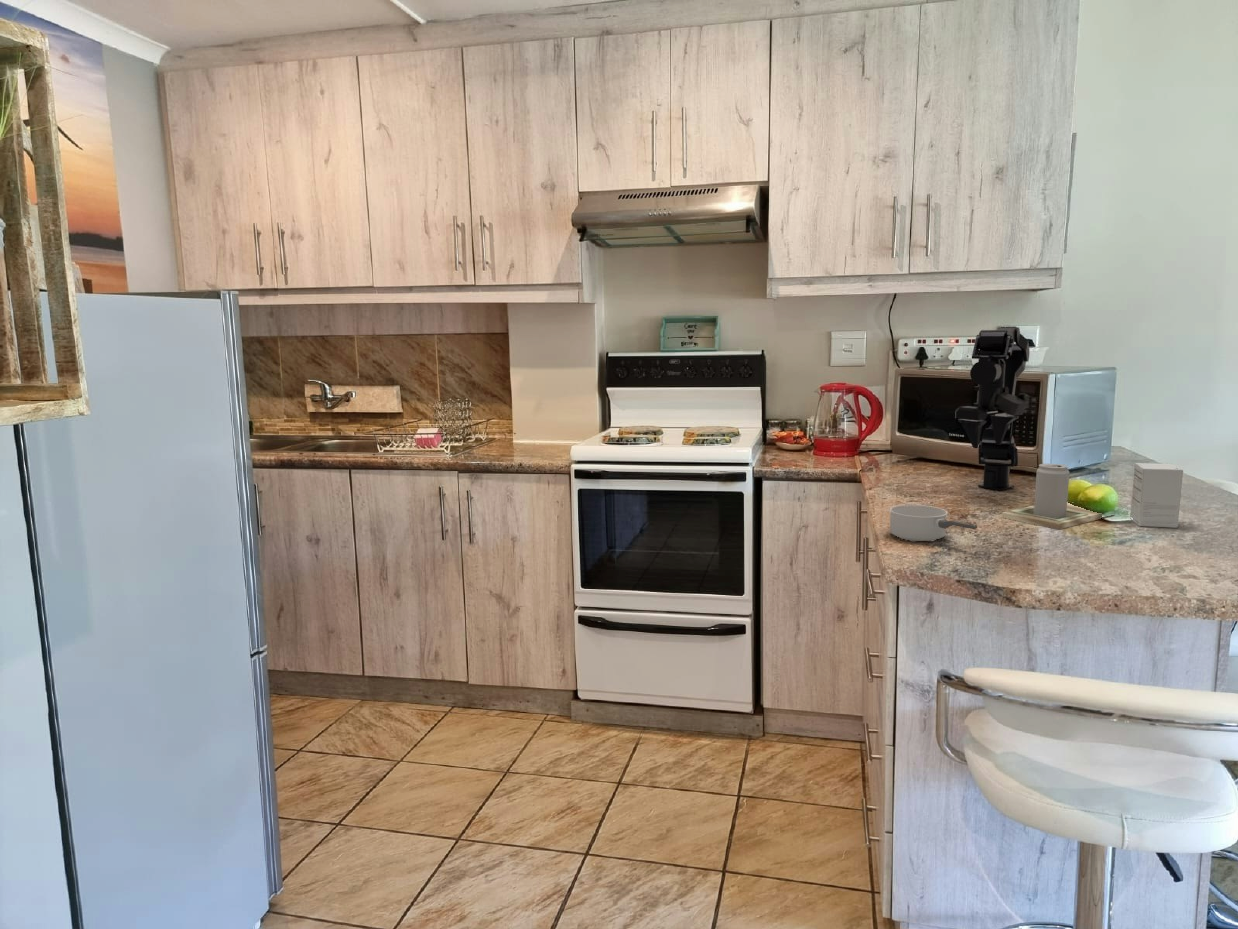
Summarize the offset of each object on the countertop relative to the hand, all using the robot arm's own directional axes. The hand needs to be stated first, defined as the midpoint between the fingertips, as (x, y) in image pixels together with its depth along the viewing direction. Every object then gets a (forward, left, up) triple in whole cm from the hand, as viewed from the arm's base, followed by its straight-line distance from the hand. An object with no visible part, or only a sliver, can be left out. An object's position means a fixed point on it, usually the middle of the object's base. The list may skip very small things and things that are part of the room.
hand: (987, 446), depth 201 cm
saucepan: (+44, +18, -13) cm, 49 cm away
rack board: (+3, +21, -13) cm, 25 cm away
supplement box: (-6, +36, -13) cm, 39 cm away
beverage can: (+7, +21, -13) cm, 26 cm away
